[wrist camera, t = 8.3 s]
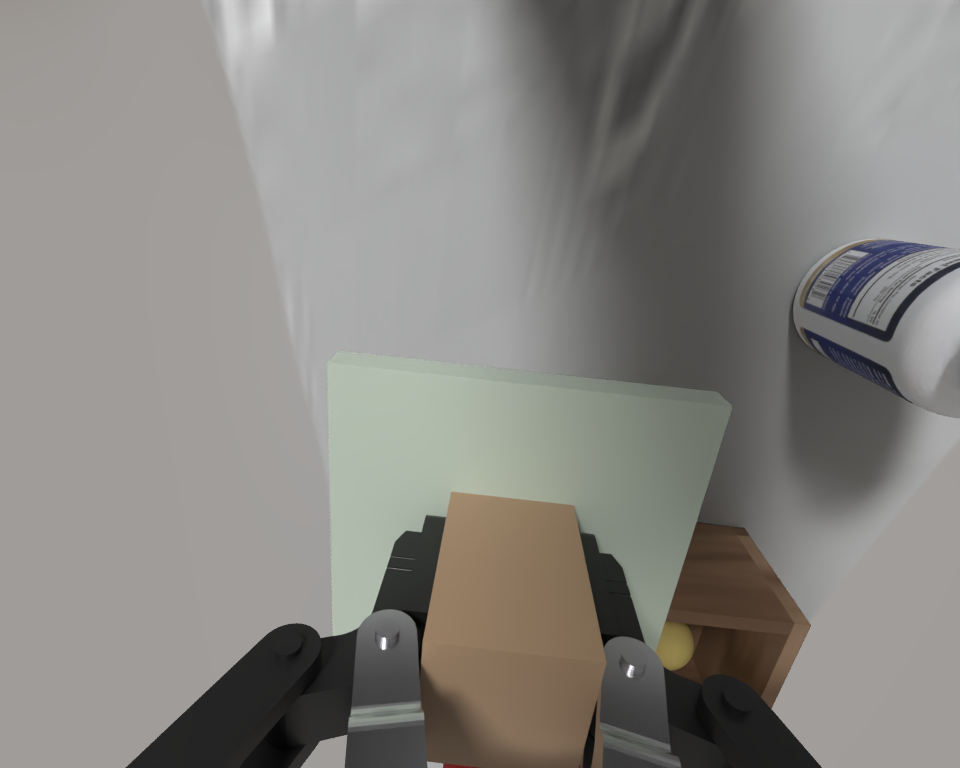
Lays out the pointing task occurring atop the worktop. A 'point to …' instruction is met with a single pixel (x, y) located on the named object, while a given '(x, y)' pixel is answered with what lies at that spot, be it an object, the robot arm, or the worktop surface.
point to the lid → (512, 531)
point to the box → (736, 612)
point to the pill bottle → (888, 317)
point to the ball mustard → (675, 645)
